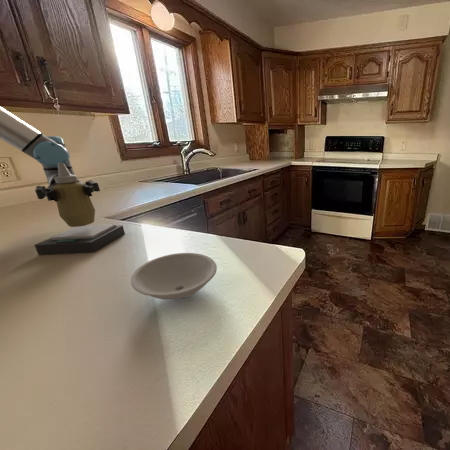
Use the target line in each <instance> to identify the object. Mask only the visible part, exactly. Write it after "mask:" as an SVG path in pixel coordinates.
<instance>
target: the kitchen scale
mask: <svg viewBox="0 0 450 450" xmlns="http://www.w3.org/2000/svg"><path fill="white" fill-rule="evenodd" d="M125 234H126V232H125V228H124V225H117V224H116V223H114V224H113V223H112V224H111V223H110V224H88V225H85V226H80V227H70V228H69V229H66V230H65V231H62V232H59V233H57V234H55V235H52V236H50V237H49V238H47V239H45V240H43V241H41V242H38V243H36V244H34V246H33V247H34V248H35V251H36V253H37V255H38V256H41V255H42V256H43V255H63V254H64V255H65V254H85V253H96V252H97V251H99V250H100V249H102V248H103V247H106V246H107V245H109V244H111V243H112V242H114V241H116V240H118V239H119V238H121V237H122V236H124V235H125Z"/></svg>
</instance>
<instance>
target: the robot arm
mask: <svg viewBox="0 0 450 450" xmlns="http://www.w3.org/2000/svg"><path fill="white" fill-rule="evenodd" d="M0 140H1V141H3V142H5V143H6V144H8V145H10V146H12V147H14V148H16V149H17V150H19V151H21V152H22V153H24V154H26V155H27V156H29V157H31V158H33V159H34V160H36V161H37V162H38V163H40V164H41V166H42V169H43V172H44V175H45V177H46V182H47V184H48V186H47V187H46V186H45V185H37V186H35V188H36V189H35V190H34V191H35V194H36V197H37V199H38V200H43V199H45V198H47V201H48V202H50V201H53V202H56V201H58V199H57V196H56V193H55V191H54V189H53V187H54V186H55V185H57V184H59V183H56V182H55V179H54V177H58V176H59V174H58V163H64V165H65V166H66V168H67V169H68V171H69V172H70V174H71V175H75V174H76V173H75V171H74V167H73V166H72V164H71V160H70V157H71V155H70V152H69V150H68V149H67V148H66V147H67V146H66V144H65V142H64V140H63V138H62V137H61V136H58V135H46V134H44V133H42V131H39V130H38V129H36V128H35V127H33V126H32V125H30V124H28V123H27V122H25V121H24V120H23V119H20V117H17V116H16V115H14V114H13V113H11V112H10V111H9V110H7V109H5V108H4V107H2V106H0ZM77 180H78V181H76V182H79V183H82V184H83V185H84V188H85V190H86V193H87V195H88V196H89V197H90V198H91V197H93V194H92V193H95V192H98V193H99V192H100V191H101V189H100V186H99V183H98V182H95V181H94V180H91V179H89V180H87V181H85V182H83V181H80V180H79V179H78V178H77Z"/></svg>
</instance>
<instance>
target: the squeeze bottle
mask: <svg viewBox="0 0 450 450" xmlns="http://www.w3.org/2000/svg"><path fill="white" fill-rule="evenodd" d="M58 174H59V176H58V177H54V179H55V182H56V183H59V184H57V185H55V186H54V187H53V189H54V191H55V193H56V196H57V199H58V201H55V202H56V206H57V210H58V214H59V217H60V218H61V219H62V220H63V221H64V222H65V224H66V225H67V226H68V227H70V228H74V227H80V226H85V225H92V224H93V223H94V222H95V218H96V208H95V206H94V204H93V202H92V200H91V196H90V197H89V196H88V195H87V193H86V190H85V188H84V185H83V184H82V183H79V182H76V181H78V180H79V179H78V177H77V175H71V174H70V172H69V171H68V169H67V168H66V166H65V165H64V163H58ZM77 179H78V180H77Z"/></svg>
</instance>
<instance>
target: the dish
mask: <svg viewBox="0 0 450 450" xmlns="http://www.w3.org/2000/svg"><path fill="white" fill-rule="evenodd" d="M217 266H218V265H217V263H216V262H215V260H214V259H212V258H211V257H209V256H208V255H205V254H202V253H196V252H179V253H171V254H170V253H169V254H166V255H162V256H159V257H155V258H154V259H151V260H148V261H146V262H145V263H144V264H143V263H142V265H140V266H139V267H137V269H135V270H134V272H133V273H132V274H131V277H130V285H131V287H132V288H133V289H134V290H135V292H137V293H139V294H142V295H145V296H149V297H151V298H155V299H159V300H165V301H166V300H167V301H171V300H173V301H174V300H180V299H184V298H187V297H190V296H192V295H194V294H196V293H197V292H199V291H200V290H201V289H203V288H204V287H205V286H206V285H207V284H208V283H209V282H211V280H212V279H213V278H214V277H215V275H216V273H217V270H218V267H217Z"/></svg>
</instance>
